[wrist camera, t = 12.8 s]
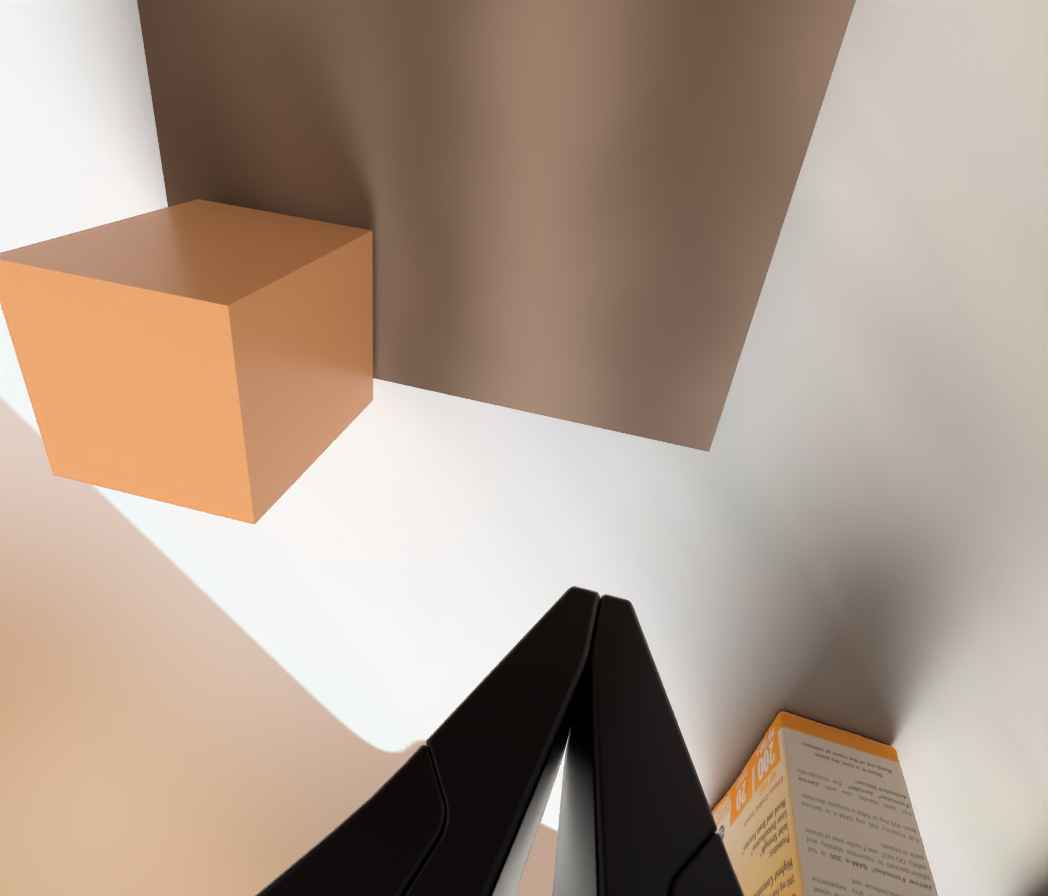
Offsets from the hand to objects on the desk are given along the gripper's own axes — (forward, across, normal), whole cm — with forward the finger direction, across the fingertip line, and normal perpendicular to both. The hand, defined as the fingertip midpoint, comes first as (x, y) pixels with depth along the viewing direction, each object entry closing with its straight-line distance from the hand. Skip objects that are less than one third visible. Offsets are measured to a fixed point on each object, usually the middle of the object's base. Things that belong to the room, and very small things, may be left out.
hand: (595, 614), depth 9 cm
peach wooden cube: (+10, +10, +1) cm, 15 cm away
